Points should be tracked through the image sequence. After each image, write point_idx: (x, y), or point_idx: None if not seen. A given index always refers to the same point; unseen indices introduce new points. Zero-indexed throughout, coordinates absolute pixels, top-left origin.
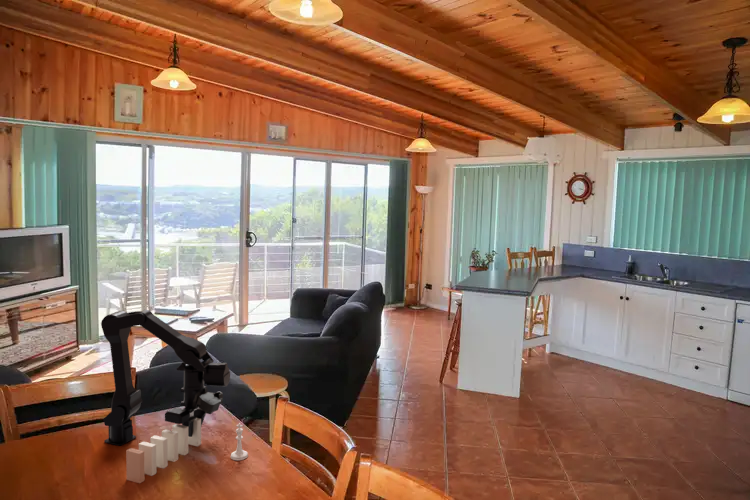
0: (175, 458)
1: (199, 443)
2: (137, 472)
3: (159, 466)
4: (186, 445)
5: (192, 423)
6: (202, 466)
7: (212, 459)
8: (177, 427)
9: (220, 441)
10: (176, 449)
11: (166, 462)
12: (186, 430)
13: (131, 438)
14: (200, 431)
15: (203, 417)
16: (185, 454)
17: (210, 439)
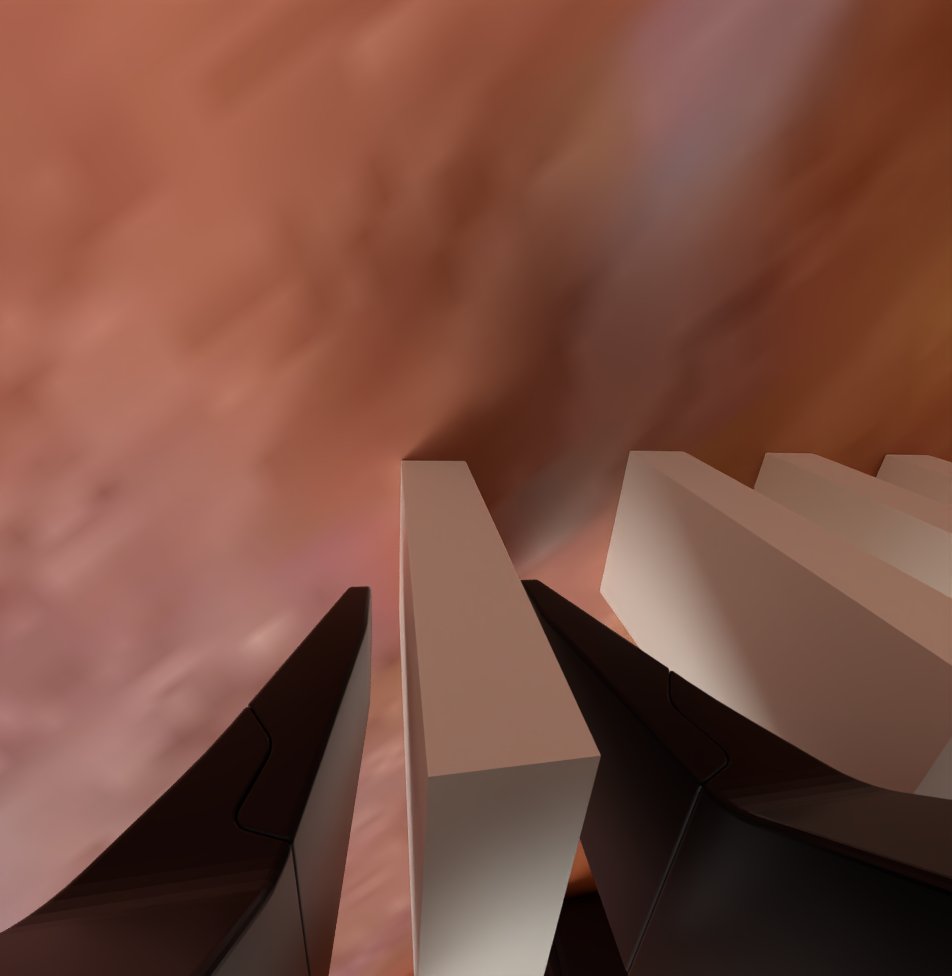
0: (819, 462)
1: (432, 468)
2: None
3: None
4: (722, 489)
5: (709, 745)
6: (924, 50)
7: (742, 12)
8: None
9: (199, 254)
10: (903, 499)
11: (943, 468)
12: (946, 630)
13: (566, 917)
14: (425, 545)
15: (226, 800)
16: (674, 451)
17: (231, 437)
